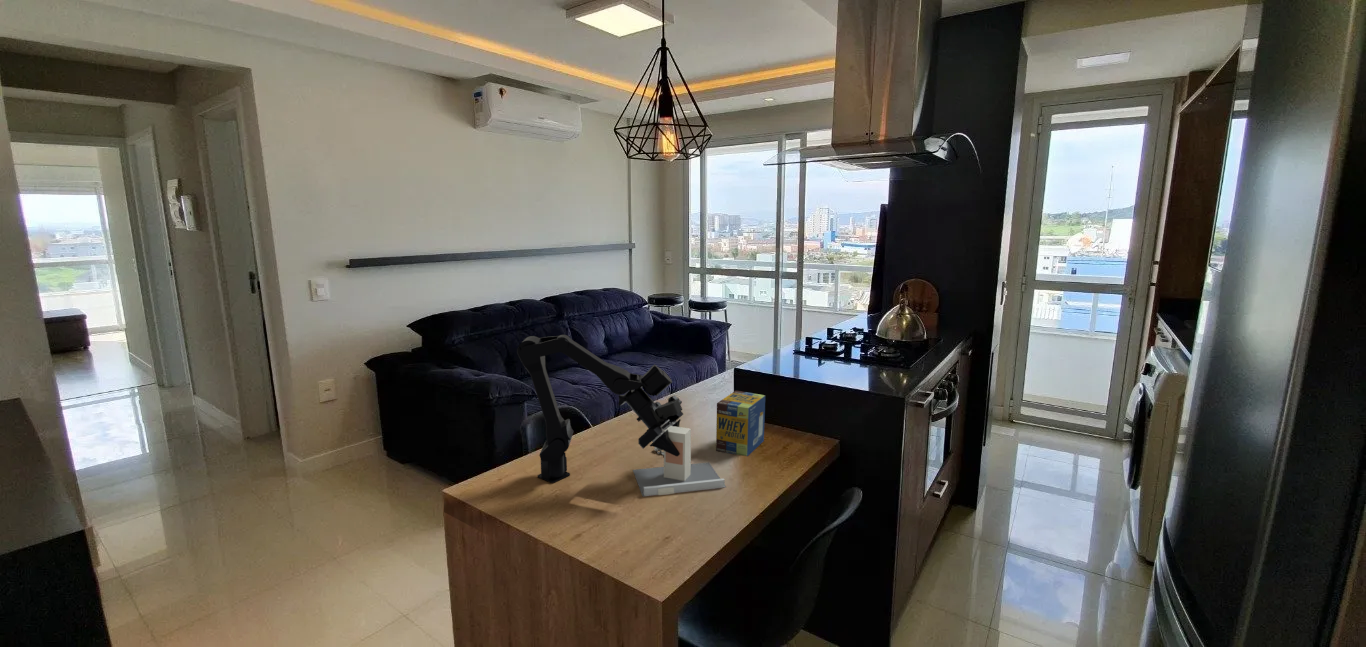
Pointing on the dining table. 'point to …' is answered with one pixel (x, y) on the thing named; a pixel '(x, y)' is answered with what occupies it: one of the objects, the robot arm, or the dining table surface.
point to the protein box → (740, 423)
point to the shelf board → (657, 484)
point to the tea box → (679, 464)
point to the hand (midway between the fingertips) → (682, 451)
